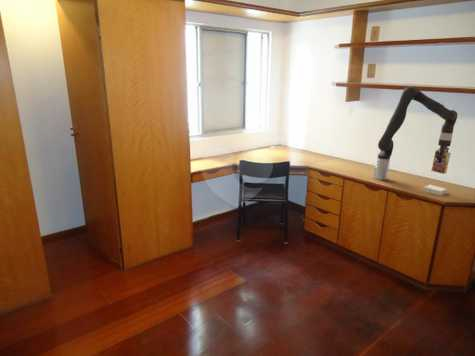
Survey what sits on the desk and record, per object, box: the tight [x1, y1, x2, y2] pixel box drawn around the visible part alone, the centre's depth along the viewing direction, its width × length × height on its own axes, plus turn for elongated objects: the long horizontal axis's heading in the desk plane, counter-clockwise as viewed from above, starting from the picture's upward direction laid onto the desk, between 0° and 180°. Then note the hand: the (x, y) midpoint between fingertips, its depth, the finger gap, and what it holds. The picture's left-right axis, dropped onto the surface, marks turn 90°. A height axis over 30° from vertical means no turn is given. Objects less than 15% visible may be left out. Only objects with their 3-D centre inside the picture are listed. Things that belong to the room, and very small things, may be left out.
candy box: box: [431, 150, 451, 175], centre depth 244 cm, size 9×4×15 cm, turn 34°
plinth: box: [422, 184, 447, 196], centre depth 250 cm, size 12×10×3 cm
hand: (440, 162), depth 244 cm, fingers closed on candy box, 4 cm apart
